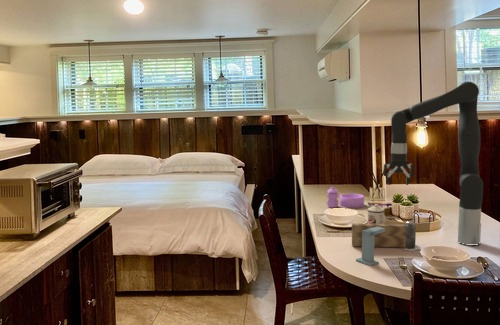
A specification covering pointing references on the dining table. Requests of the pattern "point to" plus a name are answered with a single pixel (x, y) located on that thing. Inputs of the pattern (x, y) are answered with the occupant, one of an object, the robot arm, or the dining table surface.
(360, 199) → the container set
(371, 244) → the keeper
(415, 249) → the post
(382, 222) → the teacup with lid
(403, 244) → the link
